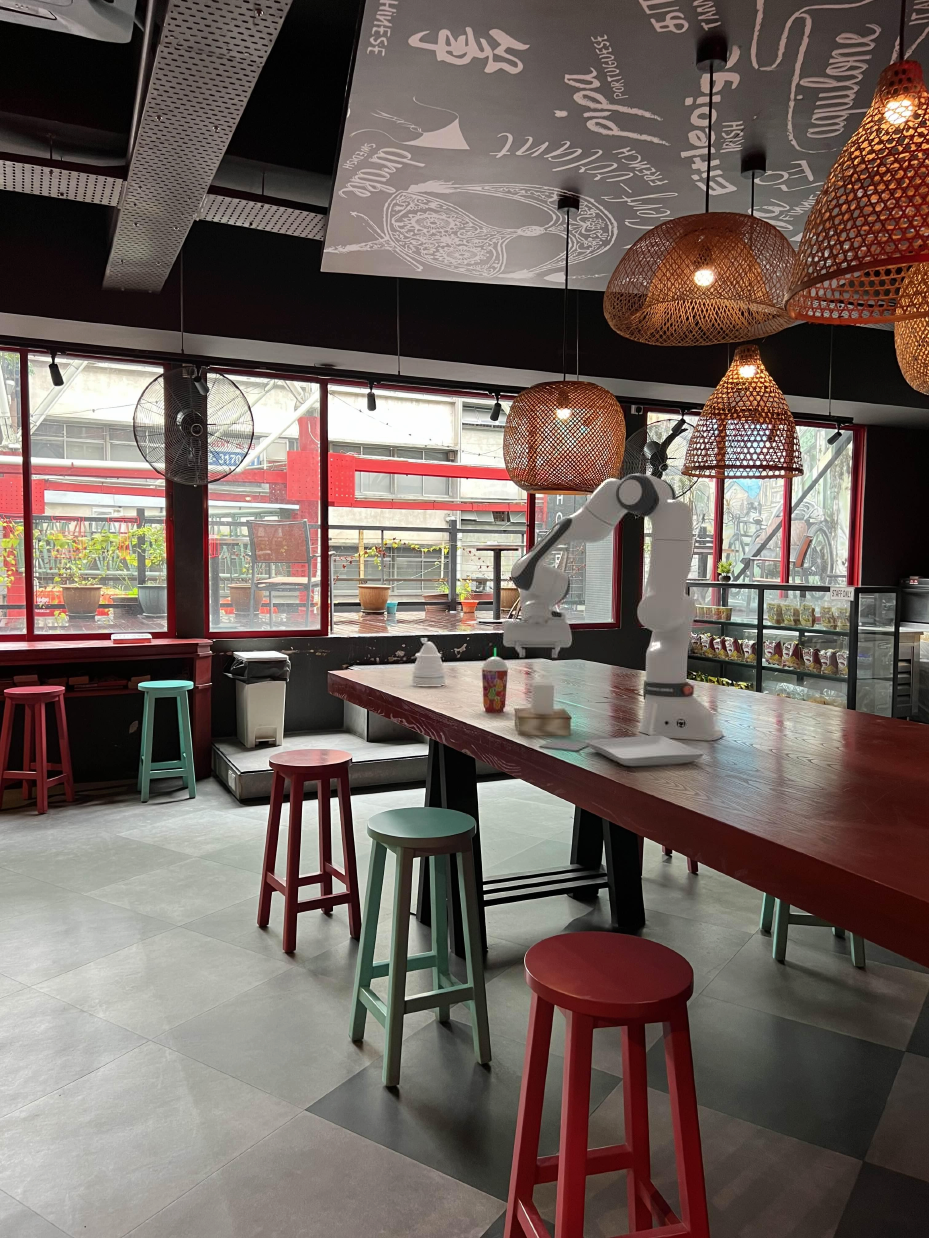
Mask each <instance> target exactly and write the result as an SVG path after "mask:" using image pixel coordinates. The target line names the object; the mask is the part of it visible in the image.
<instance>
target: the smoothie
mask: <svg viewBox="0 0 929 1238" xmlns="http://www.w3.org/2000/svg"><path fill="white" fill-rule="evenodd" d="M493 653H494V654H493V656H491V657H489V658H487V659H486V660H485V662H484V663H483V666H482V667H481V680H482V699H483V702H482V704H483V708H484V711H485V712H486V713H493V714H494V713H495V714H499V713H503V712H504V709H505V708H506V702H507V701H506V699H507V687H508V676H509V675H508V674H509V668H508V665H507V663H506V662H505V660H504V659H502V658H501V657H500V656H497V647H494V648H493Z"/></svg>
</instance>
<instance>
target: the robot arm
mask: <svg viewBox="0 0 929 1238" xmlns="http://www.w3.org/2000/svg"><path fill="white" fill-rule="evenodd" d="M676 498H677V496H676V491H675V489H674V486H672V484H670V483H669V482H668V481H666V480H665V479H663V478H662V479H661V478H658V477H656V476H654V475H652V474H651V475H650V474H643V473H632V474H628V475H626V476H625V477H623V478H622V479H621V480H620V479H618V478H613V477H612V478H607V479H605V480H604V481H603V482H602V483H601V484H599V486H598V487H597V488H596V489H594V491H593V493H592V494H591V495H590V496H589V497H588V498H587V500H586V501H585V503H584V504H583V505H582V506H581V508H580V509H578V510H577V511H576V512H574V513H573V514H570V515H568V516H567V515H566V516H563V517H561V518H560V519H559V520H557V522H556V523H554V524H553V525H552V526H551V527H550V528H549V529H548V530H547V532H546V533H545V534H544V535H542V537H541V538H540V539H539V540H538V541H537V542H536V543H535V544H534V545H533V546H532V547H531V548H530V549H529V550H528V551H527V552H526V553H525V554H524V555H521V557H520V558H518V559H517V560H516V561H515V563H514V564H513V566H512V568H511V571H510V576H511V580H512V583H513V585H514V586H515V588H516V589H519V605H520V608H521V610H520V619H506V620H504V621H503V622H502V623H501V630H502V631H503V637H502V638H503V640H502V642H503V645H504V646H505V647H506V648H507V647H508V648H509V647H510V648H512V647H513V648H515V651H517V653H518V654H519V658H525V657H526V649H525V648H554V649H551V658H558V656H559V655H558V653H559V651H560V650H561V648H569V647H570V646H571V645H572V641H573V636H572V630H571V628H570V627H571V626H570V624H569V623H568V622H567V619H566V613H564V612H562V611H561V612H560V611H557V610H552V609H550V608H551V607H554V606H556V605H558V604H560V603H561V602H563V601H564V600H565V599H566V598H567V597H568V596H569V594H570V590H571V580H570V576H569V574H568V573H566V572H564V571H563V570H561V569H558V568H557V567H553V566H551V565H548V564H547V563H545V562H544V561H545V560H547V558H548V557H549V556H550V555H551V554H552V553H553V552H554V551H555V550H556V549H557V548H558V547H559V546H561V545H563V544H565V543H571V542H573V543H575V542H576V543H588V544H589V543H591V544H592V543H598V542H601V541H604V540H605V539H607V537H609V536H610V534H611V533H612V532H613V531H614V529H615V527H616V526H617V524H618V523H619V522H620V521H621V520H622V518H623V517H624V516H625V514H627V513H630V514H634V515H637V516H640V517H642V518H646V517H647V518H648V519H649V520H650V523H651V536H650V537H651V541H650V554H649V556H650V557H649V566H648V573H647V577H646V582H645V586H644V590H643V595H642V598H641V600H640V602H639V604H638V606H637V610H636V611H637V613H636V615H637V619H638V620H639V622H640V624H641V625H642V626H644V627H645V628H646V629H648V630H650V631H652V633H651V637H650V642H649V645H648V647H647V649H646V653H645V679H644V681H643V690H642V693H643V694H642V696H643V700H644V702H643V709H642V714H641V715H642V716H641V719H640V724H639V727H638V729H637V730H638V731H639V732H640V733H642V734H645V735H648V736H664V737H666V738H669V739H678V740H679V739H681V740H693V741H695V740H696V741H708V742H709V741H715V740H719V739H721V738H722V737H723V736H724V732H723V730H721V729H720V728H719V729H717V728H716V726H715V725H716V724H715V719H714V714H713V712H712V711H711V709H709V708H708V707H706V706H705V705H704V703H702V702H700V701H699V700H698V699H697V698H696V697H695V696H694V693H695V692H694V691H695V684H693V685H692V684H691V682H688V681H687V678H688V677H687V675H688V672H687V671H688V651H689V646H690V640H691V636H692V632H693V631H692V629H693V625H694V620H695V618H696V615H697V606H696V603H695V601H694V600H693V599H692V597H690V596H689V595H688V594H686V593H685V589H686V584H687V581H688V578H689V575H690V573H691V570H692V560H693V559H692V557H693V556H692V554H693V541H694V540H693V539H694V538H693V537H694V526H693V514H692V510H691V507H690V505H689V504H688V503H687V502H684V501H683V500H679V499H676ZM522 647H523V648H522Z"/></svg>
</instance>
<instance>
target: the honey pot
mask: <svg viewBox="0 0 929 1238" xmlns="http://www.w3.org/2000/svg"><path fill="white" fill-rule="evenodd" d="M420 641H421V643H422V644H423V646H422V647H421V649H420V651H419V652H418V653H415V657H416V661H415V663H414V665H413V670H412V671H411V672H412V674H411V675H412V676H411V677H412V679H411V684H412V683H413V684H416V685H441V684H445V685H446V670H445V667H444V663H443V662H442V658H441V657H442V654H441V653H439V652H438V651H439V650H438V649H437V647H436V645H435V644H434V643H433V642H432V641H428V638H427V637H424V638H423V637H421V638H420Z"/></svg>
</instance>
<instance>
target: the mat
mask: <svg viewBox="0 0 929 1238" xmlns="http://www.w3.org/2000/svg"><path fill="white" fill-rule="evenodd" d="M588 747H589V746H588V744H587V743H586V742H583V741H581V742H580V741H573V740H565V739H563V740H562V739H556V738H555V739H552V740H550V741H548V742H545V743H542V744H540V745H538V748H542V749H548V750H549V749H550V750H558V751H565V750H567V752H573V751H574V752H575V753H577V752H579V750H580V751H582V750H584V749H585V748H588ZM583 748H584V749H583ZM581 749H582V750H581Z"/></svg>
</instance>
